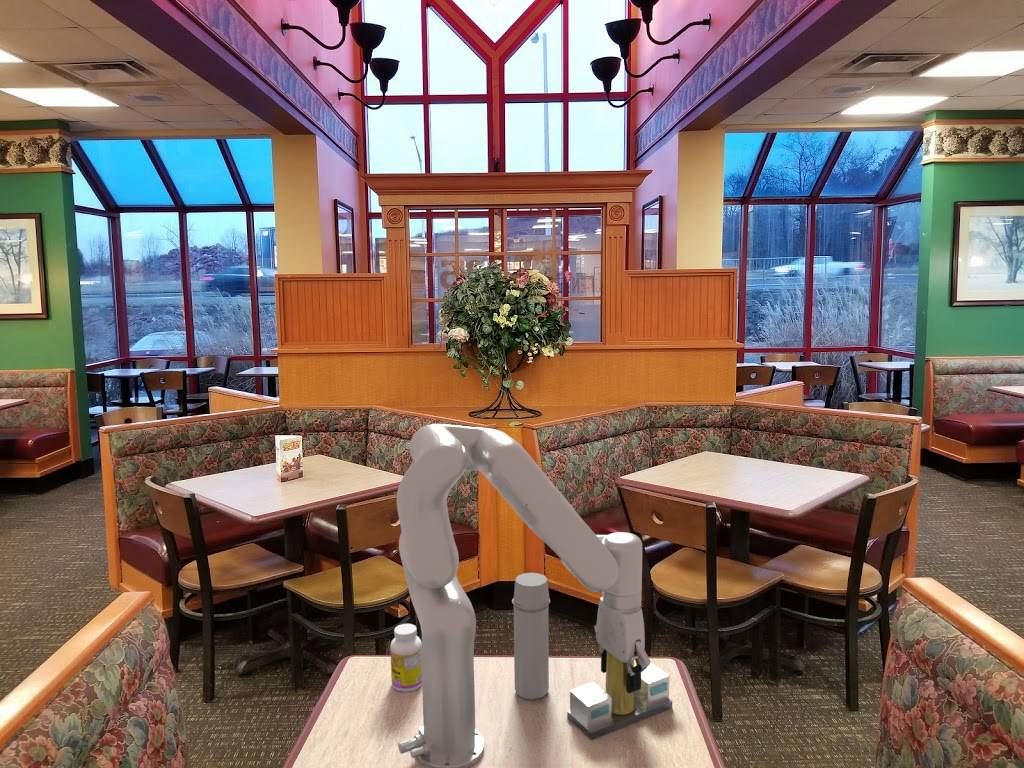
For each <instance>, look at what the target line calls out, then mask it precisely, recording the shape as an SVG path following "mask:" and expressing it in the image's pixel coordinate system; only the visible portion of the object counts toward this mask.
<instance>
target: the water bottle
mask: <svg viewBox="0 0 1024 768" xmlns="http://www.w3.org/2000/svg"><path fill="white" fill-rule="evenodd" d="M511 603H512V604H513V652H514V653H513V655H514V656H513V657H514V659H513V661H514V663H513V664H514V669H513V670H514V671H513V672H514V690H515V692H516V694H517V695H518V696H519V697H521V698H523V699H527V700H537V699H539V700H540V699H541V698H542V697H545V695H547V693H548V692H549V688H550V685H549V683H550V682H549V680H550V677H549V675H550V673H549V672H550V670H549V669H550V667H549V664H550V663H549V662H550V661H549V657H550V655H549V652H550V651H549V645H550V643H549V636H550V635H549V604H550V603H551V599H550V593H549V582H548V578H547V577H546V576H545V574H542V573H537V572H524V573H522V574H519V575H517V576H516V578H515V581H514V591H513V598H512V600H511Z"/></svg>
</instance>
